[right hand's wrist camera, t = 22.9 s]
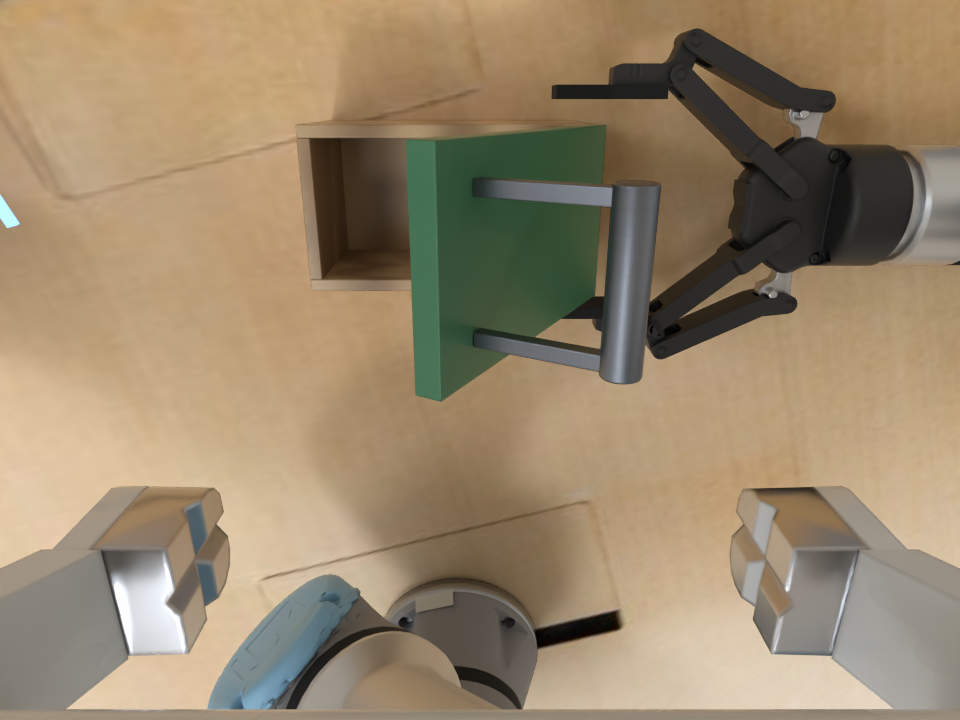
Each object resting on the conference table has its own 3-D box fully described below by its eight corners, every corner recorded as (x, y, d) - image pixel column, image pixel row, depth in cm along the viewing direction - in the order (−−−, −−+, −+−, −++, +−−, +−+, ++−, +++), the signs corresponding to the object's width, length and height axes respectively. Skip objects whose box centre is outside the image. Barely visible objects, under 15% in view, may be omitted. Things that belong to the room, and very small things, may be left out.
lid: (415, 395, 27) (613, 444, 23) (404, 139, 23) (639, 146, 19) (576, 292, 41) (714, 312, 37) (585, 124, 37) (739, 127, 33)
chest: (341, 257, 50) (311, 291, 41) (330, 120, 47) (294, 124, 38) (565, 257, 50) (583, 291, 41) (572, 120, 47) (594, 124, 38)
